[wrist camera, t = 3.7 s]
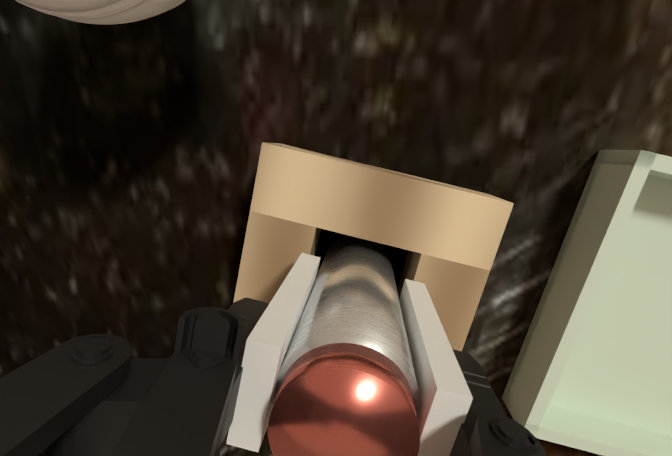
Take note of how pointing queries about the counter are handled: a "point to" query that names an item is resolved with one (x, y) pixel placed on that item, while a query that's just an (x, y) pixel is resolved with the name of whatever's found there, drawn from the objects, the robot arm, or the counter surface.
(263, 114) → the counter surface
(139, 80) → the counter surface
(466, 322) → the block
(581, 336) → the tray
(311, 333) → the pin
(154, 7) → the spinning top
